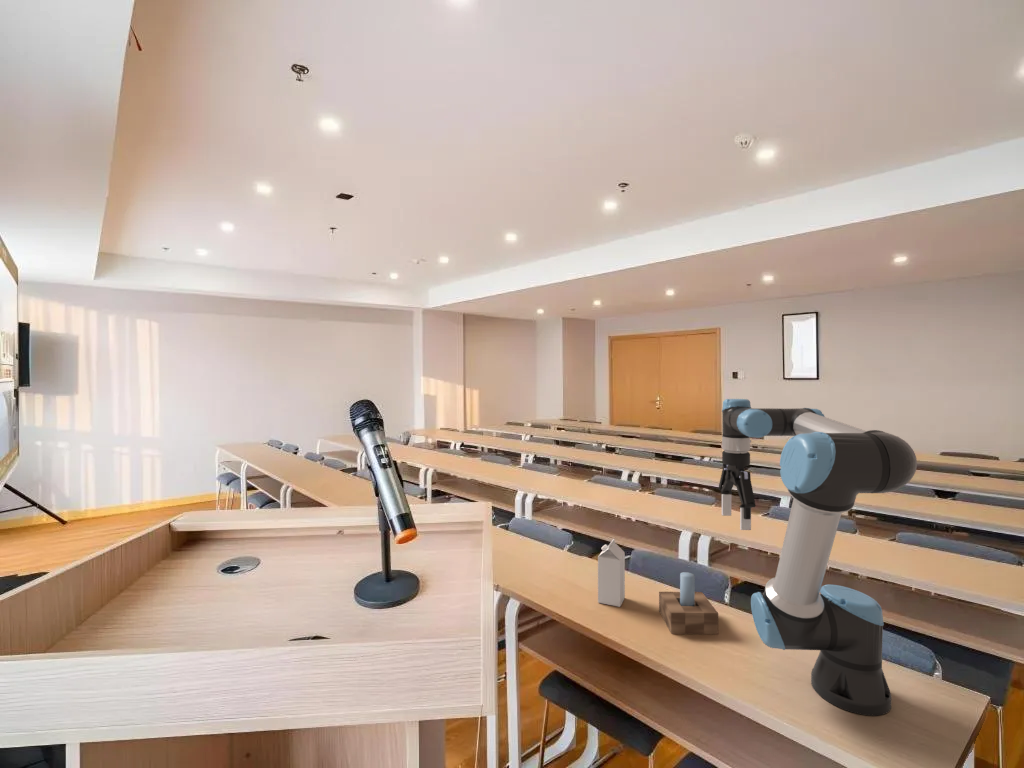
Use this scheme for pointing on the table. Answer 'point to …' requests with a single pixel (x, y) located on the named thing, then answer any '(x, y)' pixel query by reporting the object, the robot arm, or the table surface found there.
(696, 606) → the socket block
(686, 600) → the peg
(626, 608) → the table surface
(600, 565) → the milk carton
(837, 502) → the robot arm
